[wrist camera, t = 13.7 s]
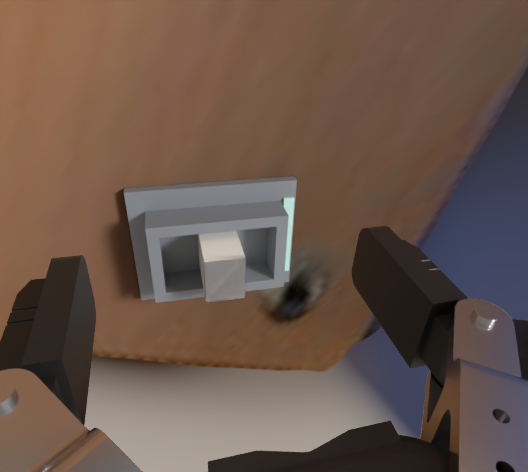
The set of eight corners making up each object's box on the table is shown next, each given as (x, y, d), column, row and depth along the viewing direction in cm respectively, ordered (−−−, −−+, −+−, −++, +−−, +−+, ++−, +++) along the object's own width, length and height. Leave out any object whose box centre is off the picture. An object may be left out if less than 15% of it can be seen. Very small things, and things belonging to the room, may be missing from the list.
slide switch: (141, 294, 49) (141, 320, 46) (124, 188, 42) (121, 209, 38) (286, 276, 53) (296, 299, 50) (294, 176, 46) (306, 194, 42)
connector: (199, 262, 48) (206, 302, 42) (196, 225, 45) (204, 262, 39) (233, 258, 49) (244, 297, 43) (233, 222, 46) (245, 257, 40)
